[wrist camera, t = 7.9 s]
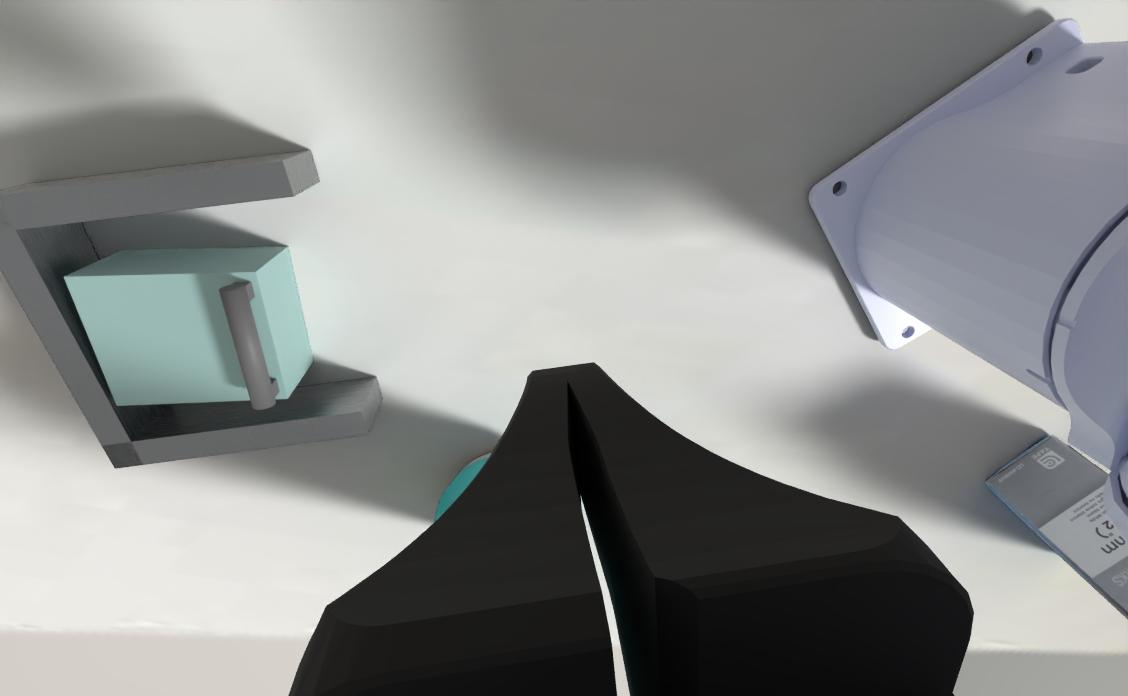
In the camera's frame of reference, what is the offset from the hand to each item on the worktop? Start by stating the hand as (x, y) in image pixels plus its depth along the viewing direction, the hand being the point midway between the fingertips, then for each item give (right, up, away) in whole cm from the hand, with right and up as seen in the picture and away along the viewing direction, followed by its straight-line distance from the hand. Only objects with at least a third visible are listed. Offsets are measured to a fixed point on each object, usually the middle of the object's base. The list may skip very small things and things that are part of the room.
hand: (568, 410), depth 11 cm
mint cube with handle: (-12, +3, +9) cm, 16 cm away
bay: (-12, +3, +9) cm, 15 cm away
